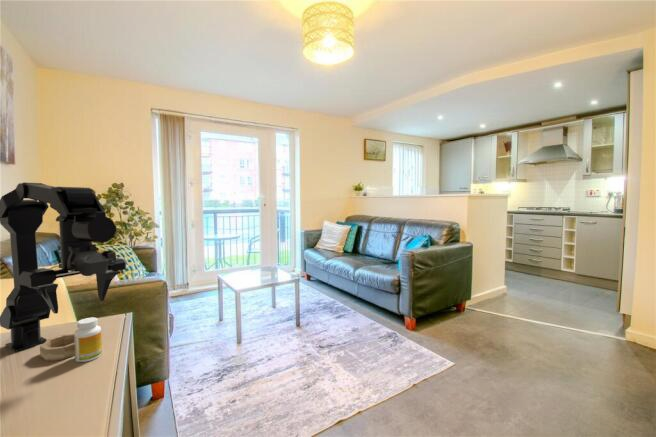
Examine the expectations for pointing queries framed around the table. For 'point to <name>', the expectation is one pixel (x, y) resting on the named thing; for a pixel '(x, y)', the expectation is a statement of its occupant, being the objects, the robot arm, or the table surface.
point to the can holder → (58, 348)
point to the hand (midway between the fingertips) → (80, 306)
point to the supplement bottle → (87, 340)
